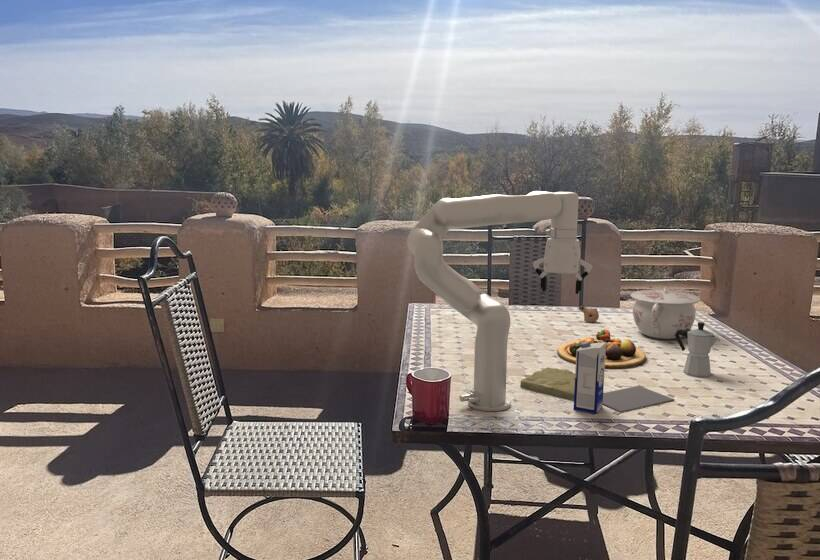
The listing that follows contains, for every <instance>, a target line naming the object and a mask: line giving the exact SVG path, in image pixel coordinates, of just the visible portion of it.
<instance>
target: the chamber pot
mask: <svg viewBox="0 0 820 560" xmlns="http://www.w3.org/2000/svg"><path fill="white" fill-rule="evenodd" d="M629 296H630V297H632V299H634V300H635V302H634V304H633V306H632V316H633V322H634V324H635V325H636V327H637V329H638V331H640V333H641V334H642V335H644V336H647V337H649V338H652V339H658V340H668V341H669V340H671V341H672V340H677V339H676V337H675V333H676V332H677V330H680V329H683V330H684V329H687V328H689V329H691V330H692V328H693V326H694V322H695V320H696V312H697V311H696V307H695V306H694V305H695V304H697V303H699V302H701V300H702V299H701V298H700V297H699V296H697V295H694V294H692V293H688V292H683V291H678V290H671V289H668V287H667V286H664V288H663V289H644V290H643V289H641V290H637V291H633V292H631V293H630V295H629ZM679 337H680V339H681V338H684V337H683V336H682V335H679Z"/></svg>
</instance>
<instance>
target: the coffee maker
mask: <svg viewBox="0 0 820 560" xmlns="http://www.w3.org/2000/svg"><path fill="white" fill-rule="evenodd" d="M704 328H705V322H702V321H699V322H697V329H696V328H695V329H692V328H691V329H689V328H687V329H684V330H683V329H680V330H677V332H676V333H675V337H676V339H675V340H676V341H677V343H678V345H679V347H680V349H681V351H682V352H684V351H685V350H686V347H685V344H684V343H683V340H682V339H681V338H680V337H679V335H682V336H683V337H682V338H685V339H687V349H688V352H689V353H687V357H686V361H685V365H684V367H683V372H682V373H683V374H685V375H686V376H689V377H695V378H708V377H710V376H712V372H711V361H710V356H709V354H710V352H711V349H712V347H713V346H714V345H715V343H716V342H717V340H718V339H719V340H720V337H718V336H717V335H715V334H714V332H712V331H709V330H706V329H704Z"/></svg>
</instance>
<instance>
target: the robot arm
mask: <svg viewBox="0 0 820 560" xmlns="http://www.w3.org/2000/svg"><path fill="white" fill-rule="evenodd" d="M579 200H580V199H579V194H578V193H577V192H575V191H574V192H573V191H556V192H551V191H543V190H542V191H541V190H533V191H531V192H529V193H528V194H526V195H525V194H524V195H523V194H522V195H521V194H520V195H507V194H486V195H480V196H479V195H478V196H470V197H468V196H467V197H460V198H458V197H457V198H451V197H443V198H441V199H439V200H438V201H436V202H435V204H434V203H433V205H432V207H430V209H429V210H428V211H427V212H426V213H425V215H423V217H422V218H420V220H419V221H418V222H417V223H416V224H415V226H414V227H413V228H412V229H411V231H410V232H409V233H408V235H407V238H406V244H407V245H406V246H407V248H408V250H409V252H411V254H413V255H414V257H413V265H414V269H415V273H416V275H417V278H418V279H419V280H420V282H422V283H423V284H424V285H425V286H426V287H427V288H428V289H430V290H431V291H432V292H433V293H435V295H437V296H439V297H440V298H441V299H442V301H444V302H445V303H446V304H447V305H448V306H449V307H451V308H452V309H454V310H455V311H457V312H458V313H459V314H461V315H462V316H463V317H464V318H466V319H467V320H469V321H470V322H472V324H475V326H476V328H477V329H476V334H475V339H474V353H473V354H474V364H473V365H474V366H473V367H474V368H473V369H474V371H473V388H471V389H470V392H468V394H467V393H466V394H461V395H459V401H460V402H461V403H462V402H467V403H468V405H469V406H470V407H471V408H474V410H475V409H476V410H478V411H484V412H485V411H486V412H500V411H505V410H507V409H509V408H510V407H511V405H512V404H511V403H512V400H511V399H510V398H508V397H507V372H508V371H507V370H508V369H507V368H508V367H507V366H508V365H507V364H508V363H507V362H508V341H509V333H510V329H511V315H510V312H509V309H508V308H507V307H506V305H505V304H503V303H501V302H500V301H499V300H497V299H495V298H494V297H491V296H490V295H489V294H487V293H486V292H485V291H484V290H483V289H481V288H480V287H478V286H477V285H476V284H475V283H474V282H473V281H472V280H470V279H468V278H467V277H465V276H463V275H461V274H460V273H458V271H456V270H454V269H453V268H452V267H451V266H450V265H449V264H447V262H445V259H444V256H443V251H444V242H443V239H442V238H444V236H445V235H446V234H447V233H448V231H449V230H458V229H459V230H460V229H469V228H475V227H486V226H487V227H488V226H492V225H493V226H495V225H507V224H517V223H531V222H539V221H540V222H541V221H547V220H550V228H549V229H545V234H546V235H548V236H549V237H548V238H547V240H546V245H545V248H544V249H545V250H544V255H543V257H542V258H540V259H537V260H535V261H533V262H532V266H533V268H534V271H535V272H536V274H537V275H538V276H539V278H540V289H542V292H546V291H547V286H548V277H547V275H548V273H550V274H561V275H564V274H565V275H574V276H575V277H576V281H575V293H574V294H576V295H578V294H580V292H581V291H582V286H583V285H582V284H583V280H584V279H585V278H586V277H587V276H588V275H589V273H590V272H591V270H592V268H593V265H592V264H590V263H589V262H586V261H585V260H584V259H582V258H581V247H580V239H577V236H578V219H579V217H578V215H579ZM540 264H543V270H542V269H541V268H540V266H539V265H540ZM581 266H583V267H584V268H585V270H584V272H583V273H581V272H580V268H581Z"/></svg>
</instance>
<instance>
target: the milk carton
mask: <svg viewBox="0 0 820 560" xmlns="http://www.w3.org/2000/svg"><path fill="white" fill-rule="evenodd" d="M580 346H581V347H580V348H579V349H578V350H576V364H575V371H574V373H575V389H574V400H573V411H578V412H583V413H584V412H585V413H589V414H593V415H598V413H599V411H600V410H601V409H602V408H603V405H602V404H603V393H604V385H605V384H604V383H605V370H606V369H605V352H606V342H602V343H600V342H599V343H592V344H590V342H584V343H581V344H580Z"/></svg>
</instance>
